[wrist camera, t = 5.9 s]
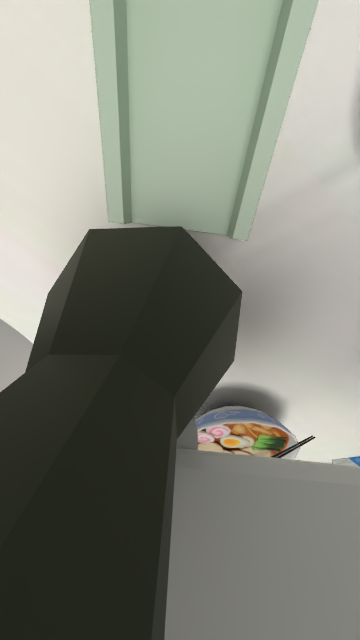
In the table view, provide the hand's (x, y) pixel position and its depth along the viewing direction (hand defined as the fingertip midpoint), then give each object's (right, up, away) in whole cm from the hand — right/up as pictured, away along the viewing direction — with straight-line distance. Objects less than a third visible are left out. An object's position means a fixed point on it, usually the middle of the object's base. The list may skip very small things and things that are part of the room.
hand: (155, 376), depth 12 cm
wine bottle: (+1, +10, +11) cm, 15 cm away
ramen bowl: (+13, -18, +29) cm, 37 cm away
